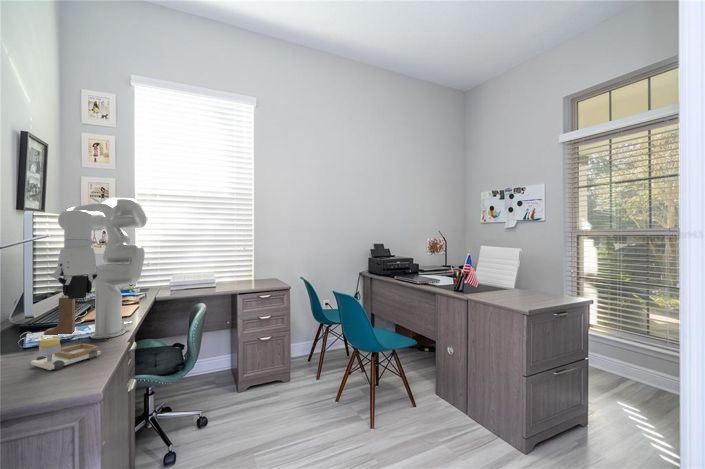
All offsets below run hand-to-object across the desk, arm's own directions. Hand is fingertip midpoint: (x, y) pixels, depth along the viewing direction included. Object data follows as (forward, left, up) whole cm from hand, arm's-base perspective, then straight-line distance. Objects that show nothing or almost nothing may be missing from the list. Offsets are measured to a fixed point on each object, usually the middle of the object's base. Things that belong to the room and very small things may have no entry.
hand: (77, 293), depth 116 cm
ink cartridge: (0, 0, -2) cm, 2 cm away
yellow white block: (+8, 0, -19) cm, 20 cm away
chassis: (+3, 0, -23) cm, 24 cm away
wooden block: (-10, -31, -24) cm, 40 cm away
